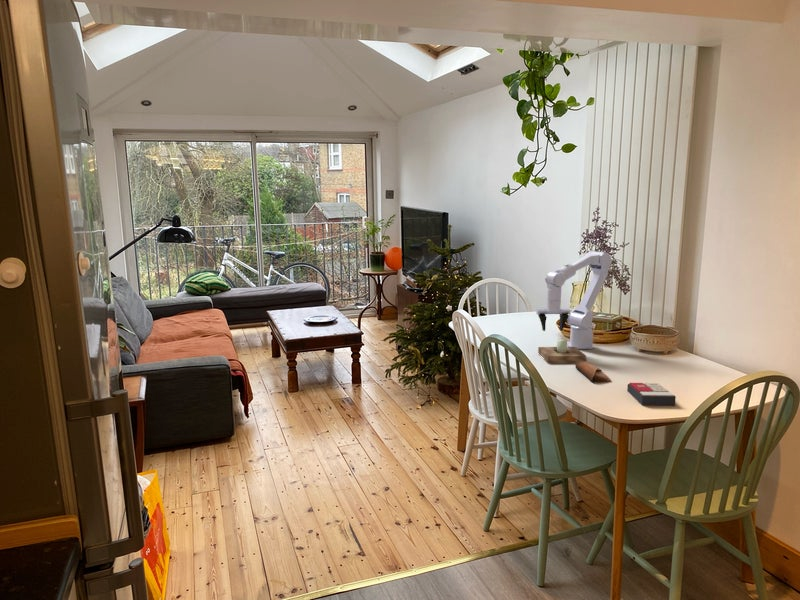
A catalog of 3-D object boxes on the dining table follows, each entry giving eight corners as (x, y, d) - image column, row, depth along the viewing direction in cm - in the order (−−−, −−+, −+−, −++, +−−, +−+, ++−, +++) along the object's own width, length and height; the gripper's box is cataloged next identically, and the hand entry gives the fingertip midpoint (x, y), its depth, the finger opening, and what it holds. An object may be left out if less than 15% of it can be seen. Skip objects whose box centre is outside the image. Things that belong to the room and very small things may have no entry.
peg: (561, 356, 258) (562, 338, 257) (568, 358, 255) (569, 340, 253) (554, 357, 257) (555, 339, 255) (560, 360, 253) (561, 341, 252)
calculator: (658, 381, 215) (676, 394, 201) (657, 393, 216) (675, 406, 201) (627, 381, 216) (642, 393, 201) (626, 393, 216) (642, 406, 202)
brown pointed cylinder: (614, 382, 225) (606, 367, 223) (598, 392, 225) (590, 377, 224) (595, 367, 242) (587, 354, 241) (580, 376, 243) (572, 363, 241)
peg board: (574, 353, 263) (574, 346, 262) (585, 362, 249) (586, 355, 249) (538, 353, 262) (538, 347, 262) (547, 363, 248) (547, 356, 248)
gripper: (567, 297, 266) (565, 327, 269) (534, 298, 265) (533, 328, 268) (572, 301, 259) (571, 331, 262) (539, 301, 259) (537, 332, 261)
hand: (552, 330), depth 265 cm, fingers open, 7 cm apart
